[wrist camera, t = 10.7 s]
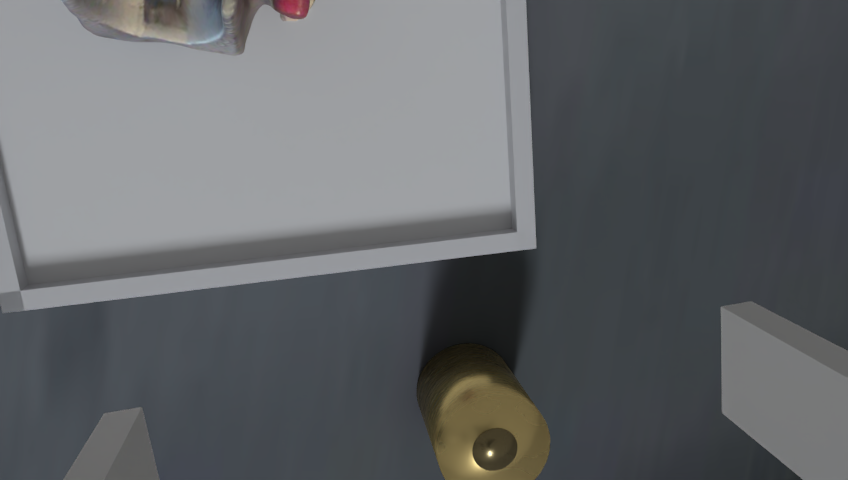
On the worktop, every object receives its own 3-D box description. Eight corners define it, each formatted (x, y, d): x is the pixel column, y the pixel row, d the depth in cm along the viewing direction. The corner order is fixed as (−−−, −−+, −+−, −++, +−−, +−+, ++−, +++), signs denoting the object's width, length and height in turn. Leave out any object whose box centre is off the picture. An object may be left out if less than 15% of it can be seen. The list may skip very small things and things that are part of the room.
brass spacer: (420, 439, 36) (442, 510, 30) (412, 350, 35) (433, 405, 29) (513, 425, 37) (552, 491, 31) (508, 337, 35) (548, 388, 30)
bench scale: (-56, 298, 30) (-200, 387, 22) (-205, -273, 25) (-474, -455, 17) (513, 231, 34) (583, 284, 25) (488, -282, 29) (565, -435, 20)
